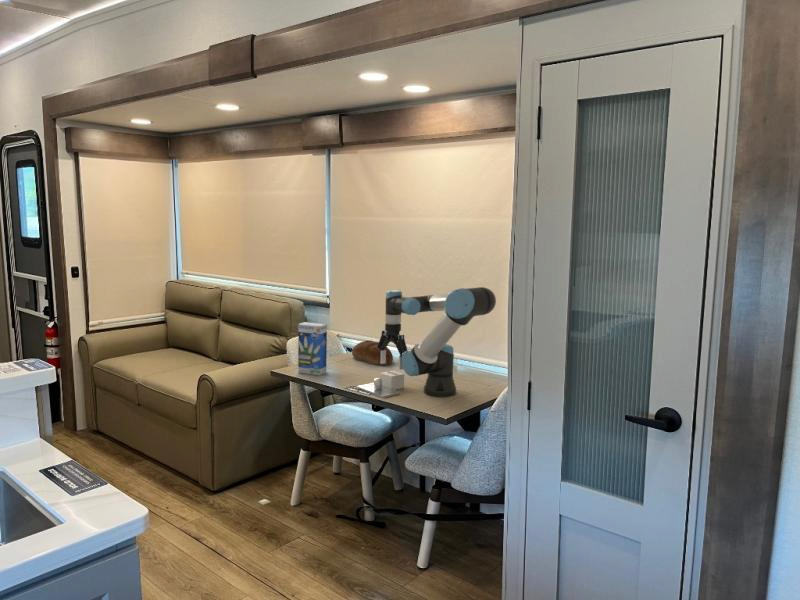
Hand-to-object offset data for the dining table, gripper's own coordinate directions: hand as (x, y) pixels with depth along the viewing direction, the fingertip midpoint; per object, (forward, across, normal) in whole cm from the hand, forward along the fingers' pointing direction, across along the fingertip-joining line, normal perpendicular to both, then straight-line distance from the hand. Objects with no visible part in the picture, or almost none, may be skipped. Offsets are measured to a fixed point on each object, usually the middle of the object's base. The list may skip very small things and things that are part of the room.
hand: (392, 366), depth 288 cm
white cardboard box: (+10, 0, 0) cm, 10 cm away
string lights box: (+11, +46, +16) cm, 49 cm away
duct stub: (+10, -2, +10) cm, 14 cm away
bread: (+11, +48, -26) cm, 55 cm away
